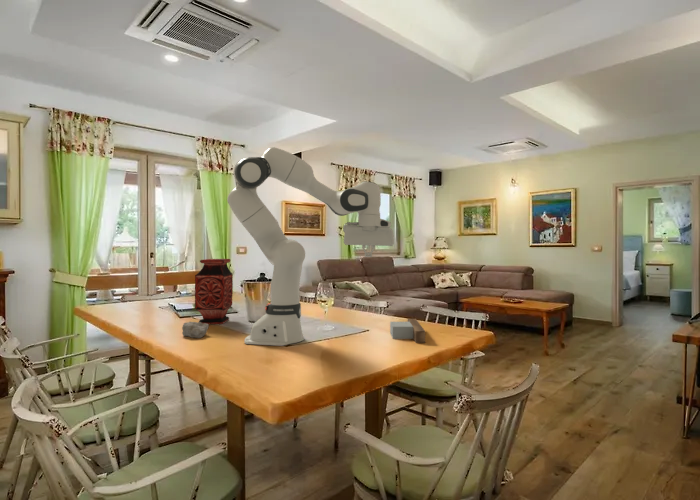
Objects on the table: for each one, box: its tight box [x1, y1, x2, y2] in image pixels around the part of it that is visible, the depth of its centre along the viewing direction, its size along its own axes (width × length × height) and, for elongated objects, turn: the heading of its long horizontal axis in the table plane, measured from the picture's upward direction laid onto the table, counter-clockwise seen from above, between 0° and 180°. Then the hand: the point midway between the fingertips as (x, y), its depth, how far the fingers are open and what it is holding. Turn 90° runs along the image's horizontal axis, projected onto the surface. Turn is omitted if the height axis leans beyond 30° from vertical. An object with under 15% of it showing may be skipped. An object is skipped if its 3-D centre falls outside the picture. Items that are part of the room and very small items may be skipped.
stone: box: [181, 321, 210, 339], centre depth 163 cm, size 10×8×6 cm
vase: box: [194, 258, 234, 325], centre depth 191 cm, size 14×14×30 cm
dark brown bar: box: [407, 318, 426, 344], centre depth 162 cm, size 4×24×4 cm, turn 179°
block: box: [389, 321, 414, 340], centre depth 162 cm, size 8×10×5 cm
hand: (368, 256), depth 162 cm, fingers closed
